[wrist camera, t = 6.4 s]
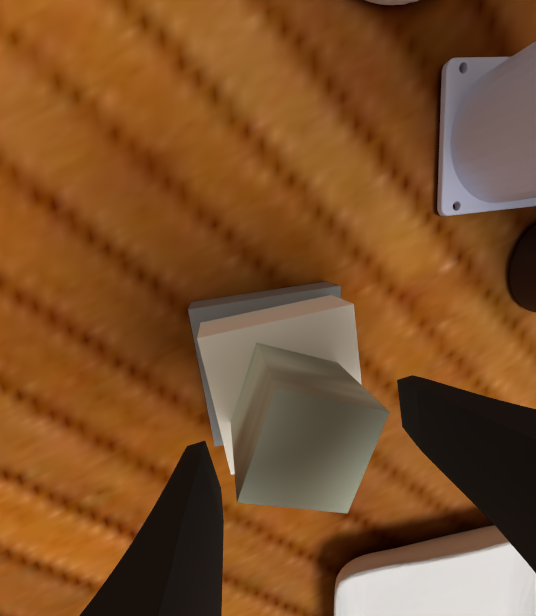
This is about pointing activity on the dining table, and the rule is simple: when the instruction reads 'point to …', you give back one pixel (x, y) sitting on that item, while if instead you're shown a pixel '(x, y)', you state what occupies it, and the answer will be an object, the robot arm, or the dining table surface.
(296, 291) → the charcoal slab
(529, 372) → the dining table surface
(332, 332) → the cream slab
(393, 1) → the ramekin
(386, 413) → the sage cube
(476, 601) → the salad plate
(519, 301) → the bottle
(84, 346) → the dining table surface
